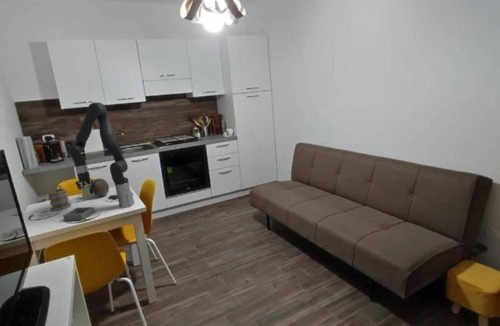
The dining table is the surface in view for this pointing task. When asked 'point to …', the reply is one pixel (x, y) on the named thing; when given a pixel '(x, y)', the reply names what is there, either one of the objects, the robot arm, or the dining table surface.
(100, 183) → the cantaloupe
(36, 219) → the dining table surface
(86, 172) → the robot arm
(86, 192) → the olive block
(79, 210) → the bin
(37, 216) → the dining table surface
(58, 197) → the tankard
